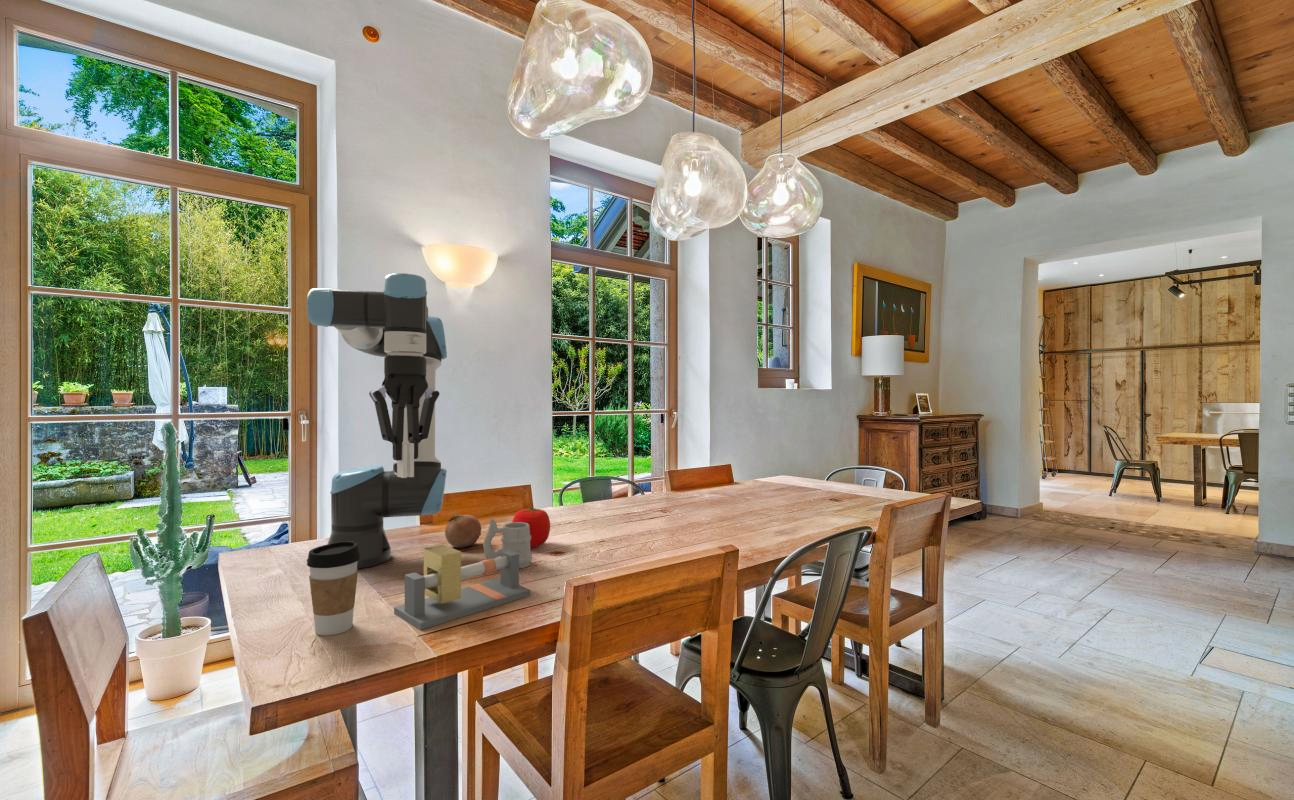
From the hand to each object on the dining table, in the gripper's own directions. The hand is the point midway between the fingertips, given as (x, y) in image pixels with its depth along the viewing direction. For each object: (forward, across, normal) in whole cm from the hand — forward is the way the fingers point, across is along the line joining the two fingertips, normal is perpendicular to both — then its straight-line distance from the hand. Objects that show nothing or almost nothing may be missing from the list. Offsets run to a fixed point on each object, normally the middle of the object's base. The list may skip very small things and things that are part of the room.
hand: (405, 476), depth 111 cm
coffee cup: (+27, -12, +1) cm, 29 cm away
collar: (+24, +5, -5) cm, 25 cm away
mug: (+27, +30, +10) cm, 41 cm away
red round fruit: (+27, +44, +20) cm, 55 cm away
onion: (+27, +31, +33) cm, 53 cm away
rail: (+26, +10, -5) cm, 29 cm away
